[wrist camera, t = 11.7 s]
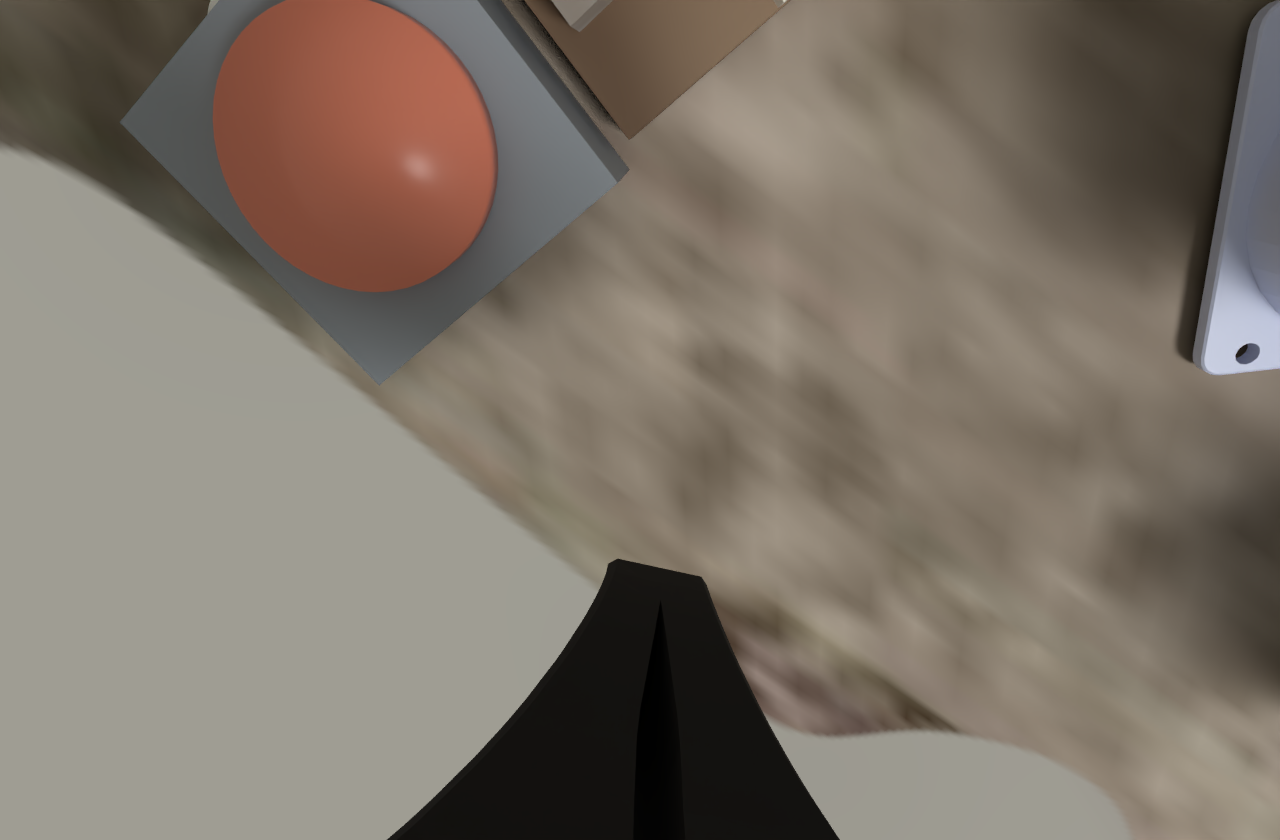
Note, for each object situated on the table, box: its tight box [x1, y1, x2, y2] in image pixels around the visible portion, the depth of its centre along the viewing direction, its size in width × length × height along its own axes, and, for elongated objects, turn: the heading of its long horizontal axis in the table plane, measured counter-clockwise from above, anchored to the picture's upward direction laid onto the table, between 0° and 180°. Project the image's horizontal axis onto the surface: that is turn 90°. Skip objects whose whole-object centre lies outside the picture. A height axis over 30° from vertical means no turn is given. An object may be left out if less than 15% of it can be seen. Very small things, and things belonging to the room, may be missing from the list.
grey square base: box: [120, 0, 630, 385], centre depth 15 cm, size 7×7×3 cm
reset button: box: [213, 0, 498, 292], centre depth 15 cm, size 5×5×3 cm
